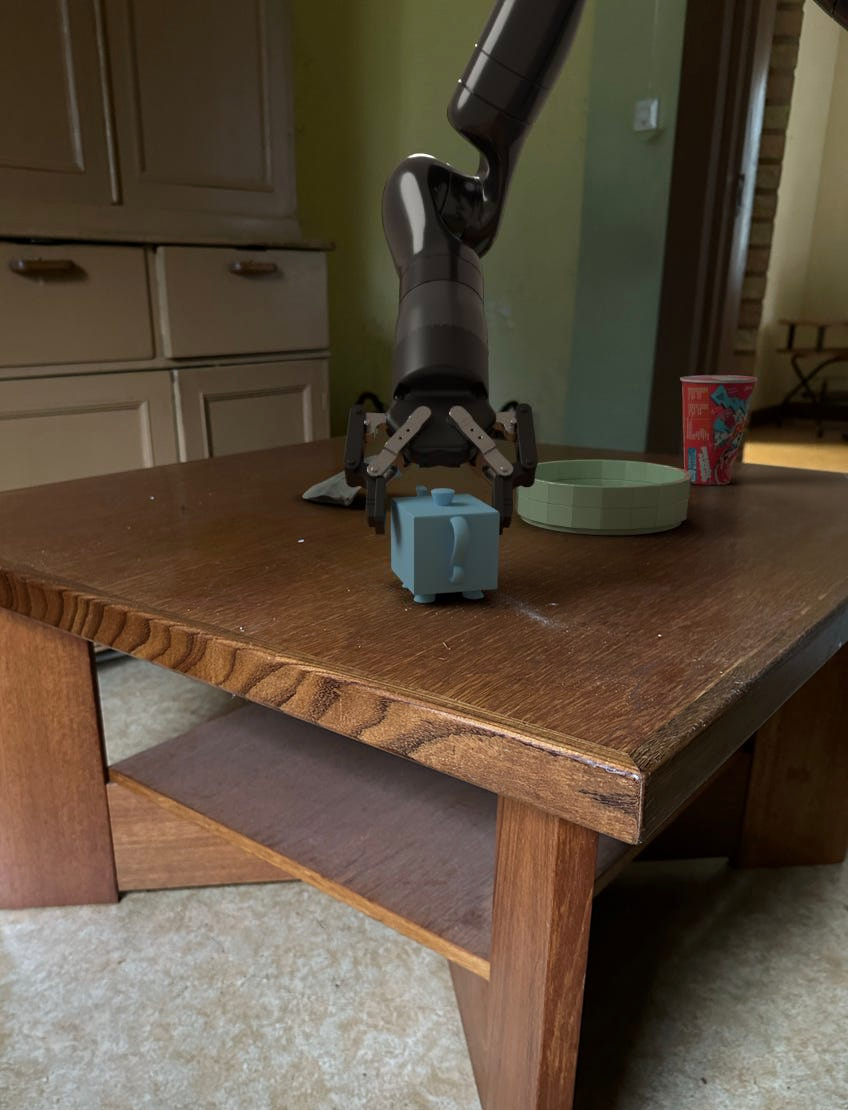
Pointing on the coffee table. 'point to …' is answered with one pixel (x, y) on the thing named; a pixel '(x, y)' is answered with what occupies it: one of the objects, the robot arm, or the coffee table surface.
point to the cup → (714, 424)
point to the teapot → (444, 544)
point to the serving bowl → (605, 497)
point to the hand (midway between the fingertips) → (439, 529)
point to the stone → (335, 489)
